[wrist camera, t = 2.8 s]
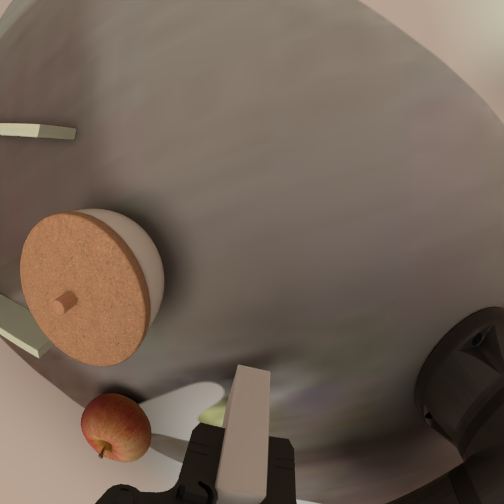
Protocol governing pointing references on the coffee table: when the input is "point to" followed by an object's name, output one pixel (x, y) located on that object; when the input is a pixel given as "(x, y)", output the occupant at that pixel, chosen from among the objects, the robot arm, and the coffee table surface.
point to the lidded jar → (92, 283)
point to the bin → (3, 309)
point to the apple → (116, 427)
